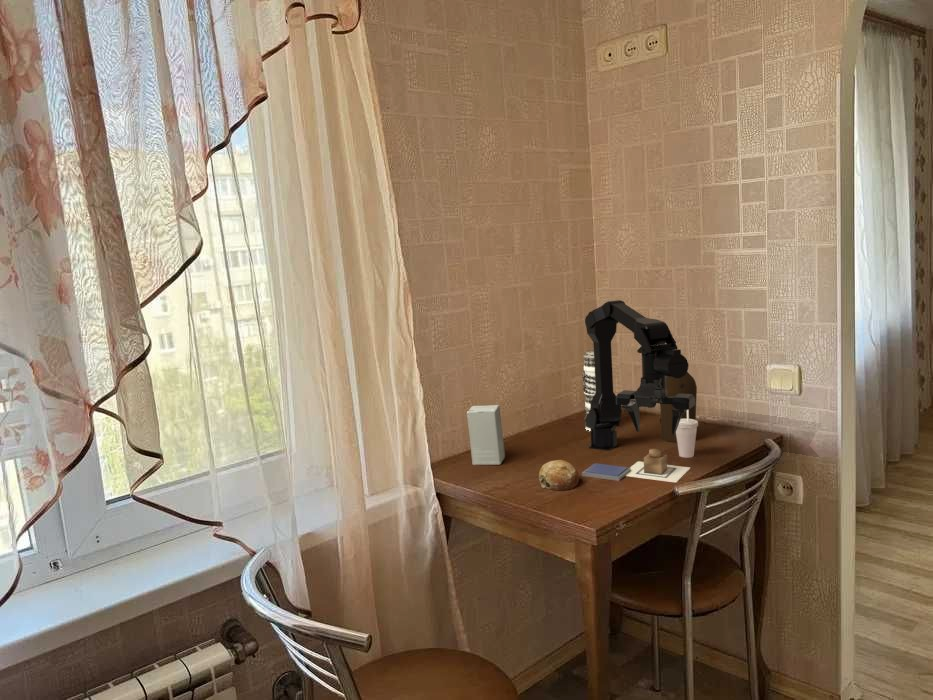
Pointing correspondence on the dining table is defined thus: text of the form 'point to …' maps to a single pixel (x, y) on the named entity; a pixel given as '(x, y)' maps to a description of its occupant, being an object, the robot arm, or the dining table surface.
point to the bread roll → (558, 475)
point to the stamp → (655, 462)
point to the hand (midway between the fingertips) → (655, 432)
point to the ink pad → (606, 471)
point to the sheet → (669, 475)
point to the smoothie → (686, 436)
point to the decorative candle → (589, 381)
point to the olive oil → (673, 387)
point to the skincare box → (486, 435)
